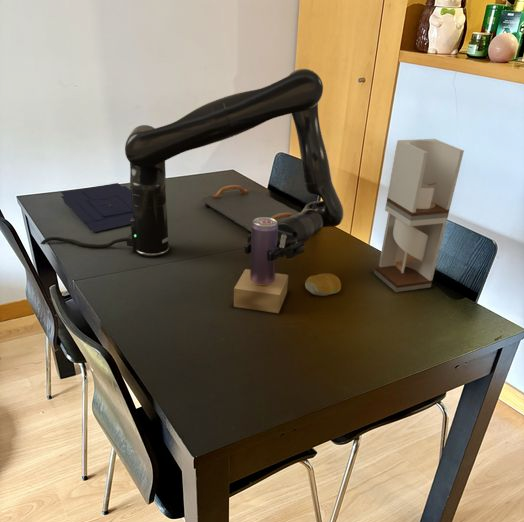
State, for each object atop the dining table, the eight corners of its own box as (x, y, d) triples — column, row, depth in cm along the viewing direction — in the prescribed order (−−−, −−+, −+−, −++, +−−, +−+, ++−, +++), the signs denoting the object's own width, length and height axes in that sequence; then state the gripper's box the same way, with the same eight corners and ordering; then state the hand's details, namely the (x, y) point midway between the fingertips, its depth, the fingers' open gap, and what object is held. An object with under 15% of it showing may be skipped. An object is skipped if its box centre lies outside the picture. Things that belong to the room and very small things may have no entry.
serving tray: (196, 204, 189) (195, 186, 186) (252, 195, 201) (252, 178, 197) (257, 243, 163) (258, 223, 160) (317, 230, 174) (319, 211, 171)
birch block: (233, 306, 131) (233, 288, 128) (244, 286, 140) (245, 268, 137) (278, 313, 129) (279, 294, 126) (286, 292, 138) (288, 274, 135)
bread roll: (346, 291, 140) (348, 277, 138) (319, 299, 136) (320, 285, 133) (326, 278, 146) (328, 265, 143) (299, 286, 141) (300, 272, 139)
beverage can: (272, 288, 129) (275, 227, 120) (247, 284, 130) (249, 224, 121) (276, 277, 134) (280, 218, 125) (252, 274, 135) (254, 215, 126)
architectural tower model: (373, 273, 150) (397, 140, 130) (407, 269, 153) (434, 138, 134) (395, 292, 141) (424, 152, 122) (430, 287, 144) (463, 150, 125)
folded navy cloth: (123, 189, 195) (122, 179, 193) (164, 225, 178) (164, 215, 176) (55, 200, 182) (54, 190, 180) (93, 240, 165) (92, 229, 163)
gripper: (270, 211, 138) (232, 230, 126) (320, 224, 132) (285, 246, 120) (269, 238, 143) (232, 260, 131) (317, 252, 136) (283, 276, 124)
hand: (258, 253), depth 125 cm, fingers closed on beverage can, 6 cm apart
